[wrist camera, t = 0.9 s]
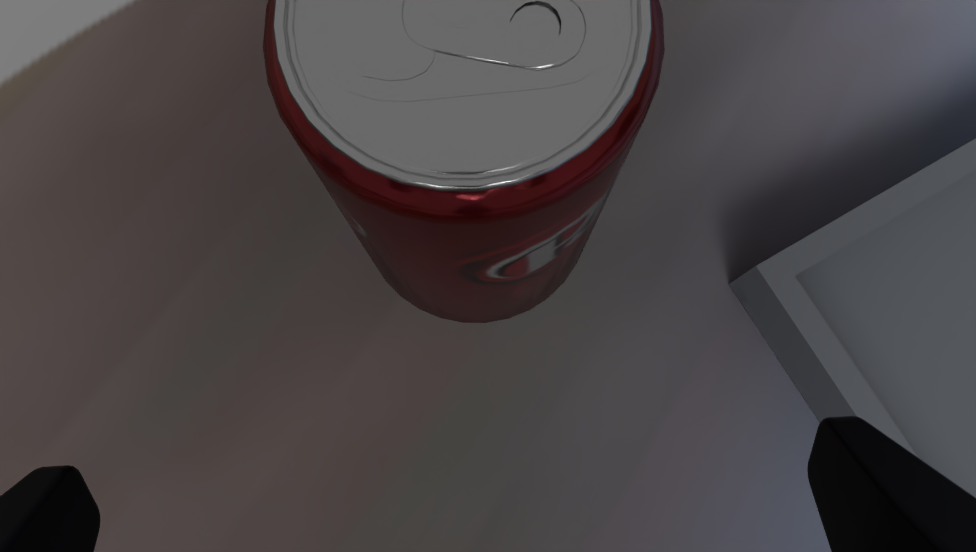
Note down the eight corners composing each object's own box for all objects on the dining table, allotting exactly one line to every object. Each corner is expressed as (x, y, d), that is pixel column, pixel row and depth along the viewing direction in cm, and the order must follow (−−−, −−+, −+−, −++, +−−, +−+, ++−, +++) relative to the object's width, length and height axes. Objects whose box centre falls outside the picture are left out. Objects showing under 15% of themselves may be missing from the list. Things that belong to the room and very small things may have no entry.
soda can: (335, 288, 24) (185, 138, 12) (407, 91, 25) (336, -209, 14) (550, 355, 23) (609, 265, 12) (611, 150, 25) (717, -110, 13)
